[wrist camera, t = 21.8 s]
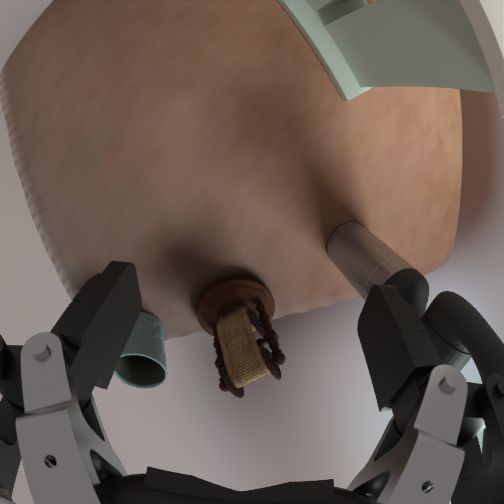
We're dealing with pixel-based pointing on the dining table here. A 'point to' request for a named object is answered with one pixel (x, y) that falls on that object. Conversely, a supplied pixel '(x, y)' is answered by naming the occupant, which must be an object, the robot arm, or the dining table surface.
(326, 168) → the dining table surface
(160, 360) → the drinking glass
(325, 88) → the dining table surface
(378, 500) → the robot arm
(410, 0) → the step stand
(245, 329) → the scroll
